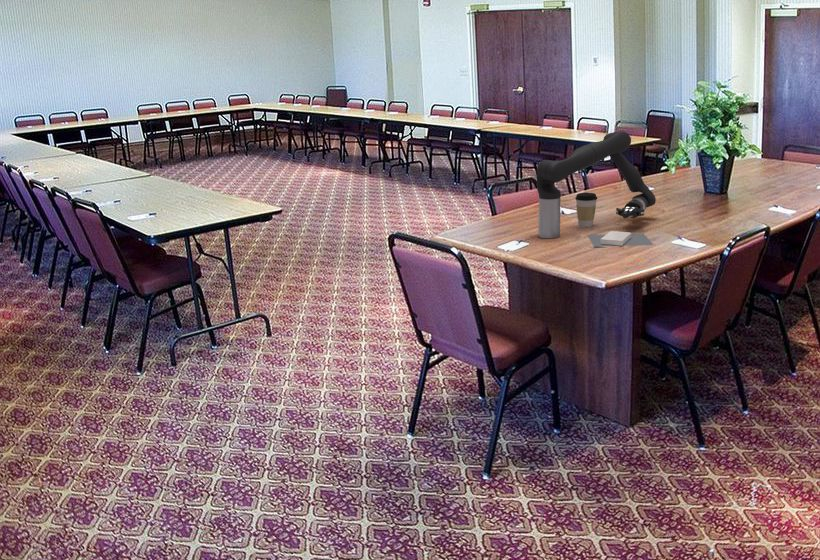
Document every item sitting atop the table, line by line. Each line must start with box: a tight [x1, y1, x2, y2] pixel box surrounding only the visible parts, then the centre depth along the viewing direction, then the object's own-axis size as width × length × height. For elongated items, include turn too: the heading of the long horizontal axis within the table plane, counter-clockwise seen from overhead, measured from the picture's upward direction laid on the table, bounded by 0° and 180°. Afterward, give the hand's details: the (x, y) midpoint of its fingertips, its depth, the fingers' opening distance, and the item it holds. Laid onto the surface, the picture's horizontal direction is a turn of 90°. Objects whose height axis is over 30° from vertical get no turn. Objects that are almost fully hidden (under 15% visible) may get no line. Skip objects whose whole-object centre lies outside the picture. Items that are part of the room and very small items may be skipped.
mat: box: [587, 232, 655, 249], centre depth 327 cm, size 24×20×1 cm
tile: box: [600, 230, 632, 247], centre depth 325 cm, size 2×9×15 cm
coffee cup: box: [574, 192, 598, 229], centre depth 353 cm, size 10×10×15 cm
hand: (625, 215), depth 334 cm, fingers closed
